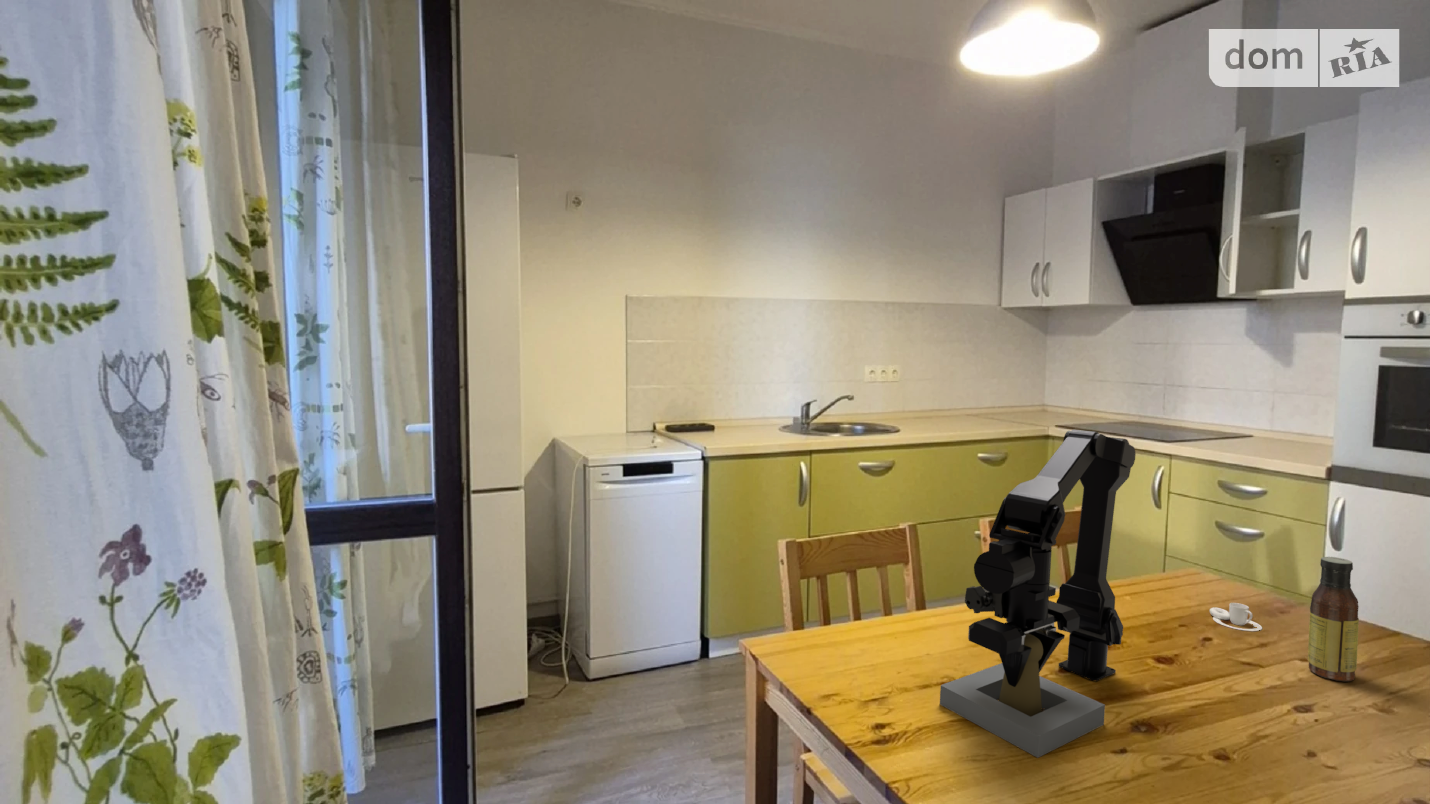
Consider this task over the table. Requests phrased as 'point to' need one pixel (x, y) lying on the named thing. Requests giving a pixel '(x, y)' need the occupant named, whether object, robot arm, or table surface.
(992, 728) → the socket plate
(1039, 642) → the brown pawn
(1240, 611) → the teacup and saucer
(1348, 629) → the sauce bottle
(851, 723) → the table surface
